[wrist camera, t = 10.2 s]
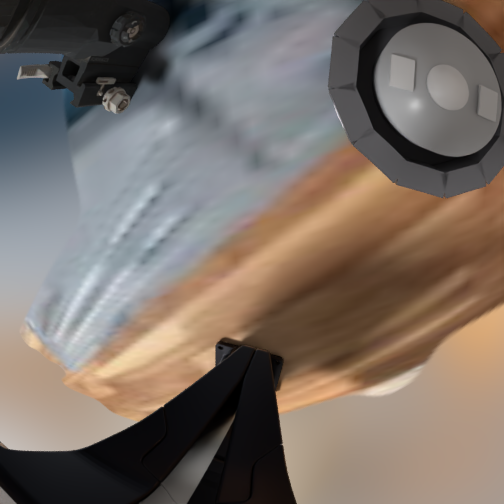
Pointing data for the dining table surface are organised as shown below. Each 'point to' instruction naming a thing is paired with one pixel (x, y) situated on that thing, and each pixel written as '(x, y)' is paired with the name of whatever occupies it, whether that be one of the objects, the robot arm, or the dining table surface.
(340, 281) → the dining table surface
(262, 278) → the dining table surface
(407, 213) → the dining table surface
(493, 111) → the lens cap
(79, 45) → the scope
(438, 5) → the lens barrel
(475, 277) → the dining table surface
